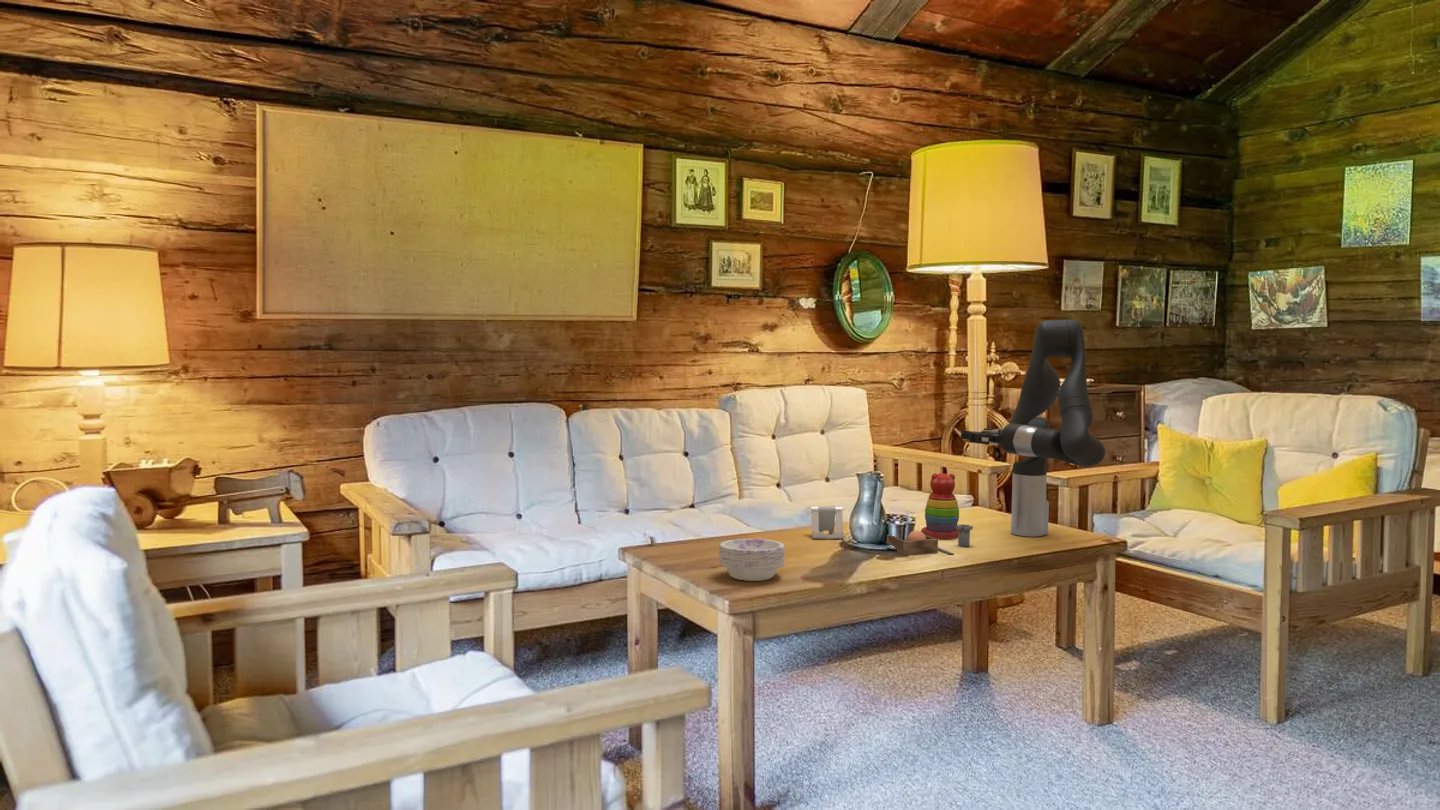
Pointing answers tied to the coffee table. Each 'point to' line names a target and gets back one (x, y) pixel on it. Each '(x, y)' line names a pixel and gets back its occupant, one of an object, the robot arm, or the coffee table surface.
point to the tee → (964, 535)
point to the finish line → (945, 551)
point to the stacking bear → (941, 508)
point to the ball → (916, 536)
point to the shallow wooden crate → (914, 545)
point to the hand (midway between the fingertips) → (973, 433)
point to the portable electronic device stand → (827, 522)
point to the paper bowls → (751, 558)
